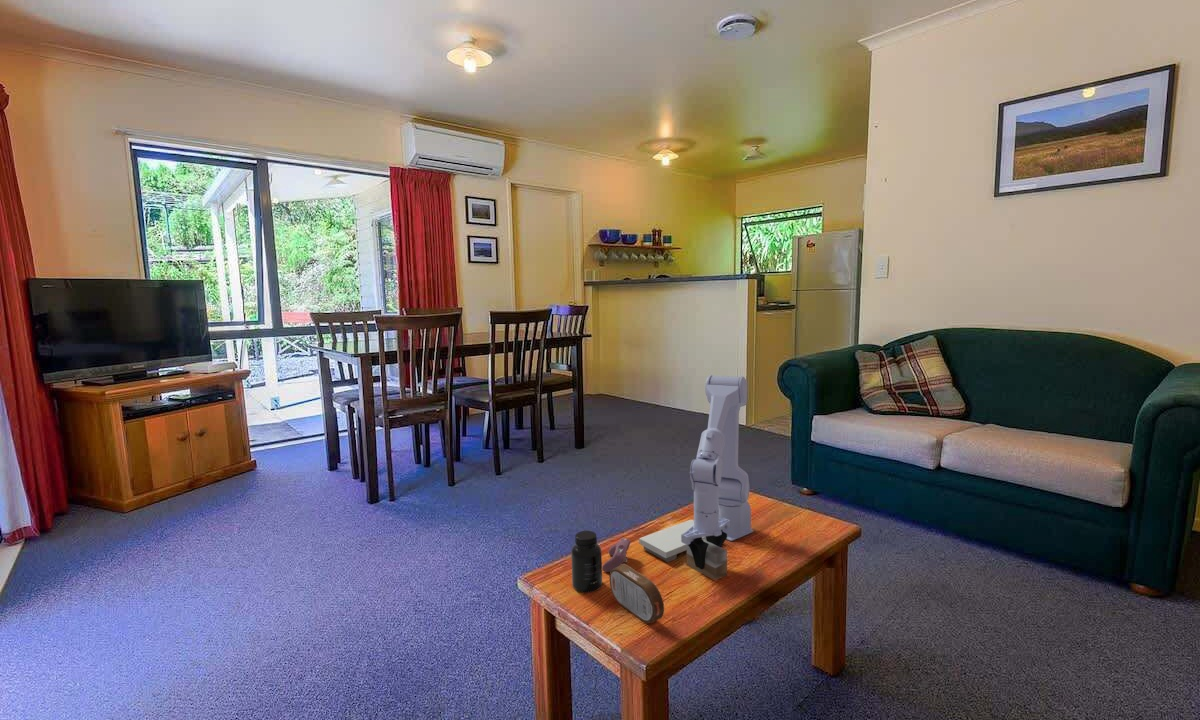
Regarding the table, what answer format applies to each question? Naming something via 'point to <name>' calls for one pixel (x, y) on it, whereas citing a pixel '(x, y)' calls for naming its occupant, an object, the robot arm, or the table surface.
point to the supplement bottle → (586, 562)
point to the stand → (667, 541)
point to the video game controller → (617, 555)
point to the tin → (636, 593)
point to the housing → (711, 561)
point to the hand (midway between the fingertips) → (706, 564)
